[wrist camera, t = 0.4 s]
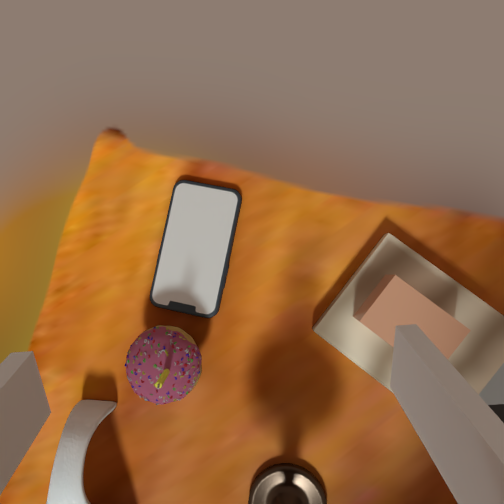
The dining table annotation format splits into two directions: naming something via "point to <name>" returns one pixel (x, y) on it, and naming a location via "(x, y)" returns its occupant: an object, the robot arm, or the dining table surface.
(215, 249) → the phone case
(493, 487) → the robot arm
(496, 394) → the mat
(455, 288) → the beige flat rectangular piece
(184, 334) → the cupcake
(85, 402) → the spoon rest
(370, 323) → the pink block
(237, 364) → the dining table surface
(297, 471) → the candlestick
